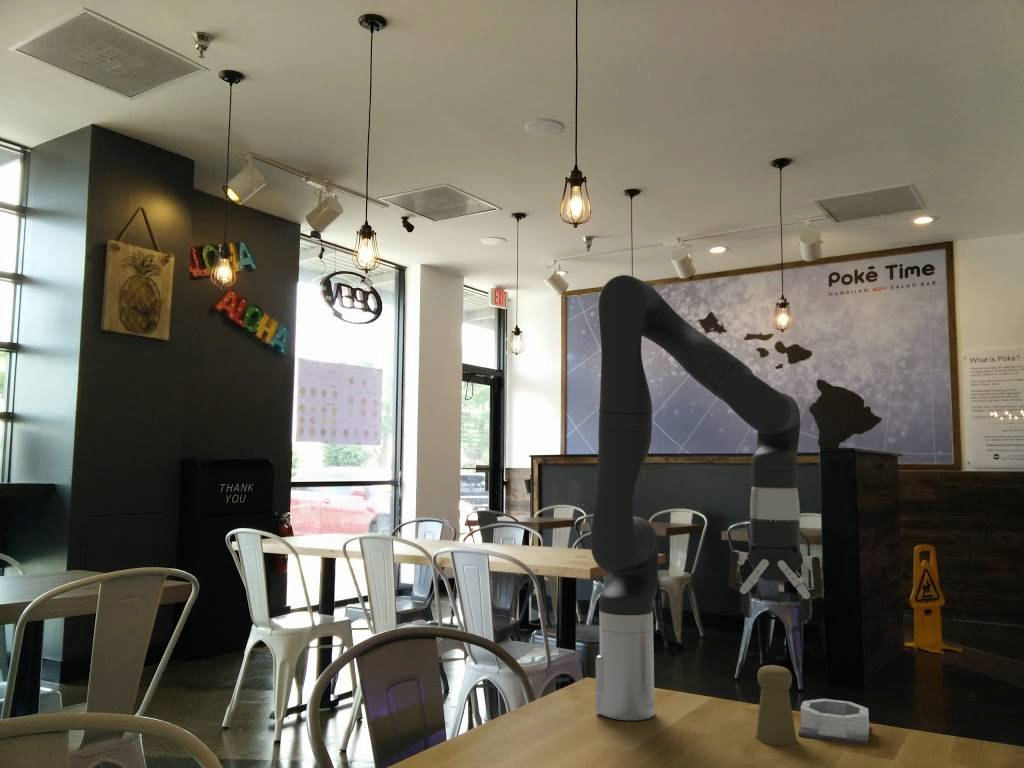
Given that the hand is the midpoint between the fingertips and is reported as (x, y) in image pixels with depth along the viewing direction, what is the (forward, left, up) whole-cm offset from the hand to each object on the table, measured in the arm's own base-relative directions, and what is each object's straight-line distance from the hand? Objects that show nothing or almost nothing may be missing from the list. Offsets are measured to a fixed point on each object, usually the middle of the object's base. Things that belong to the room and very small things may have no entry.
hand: (775, 619), depth 134 cm
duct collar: (+8, +8, -18) cm, 21 cm away
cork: (0, 0, -18) cm, 18 cm away
